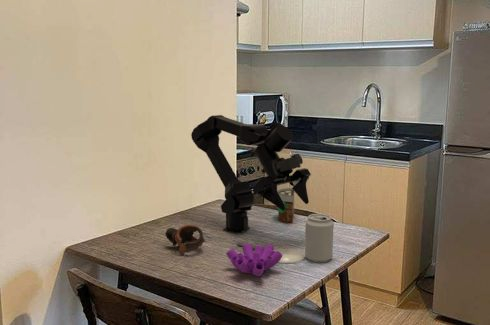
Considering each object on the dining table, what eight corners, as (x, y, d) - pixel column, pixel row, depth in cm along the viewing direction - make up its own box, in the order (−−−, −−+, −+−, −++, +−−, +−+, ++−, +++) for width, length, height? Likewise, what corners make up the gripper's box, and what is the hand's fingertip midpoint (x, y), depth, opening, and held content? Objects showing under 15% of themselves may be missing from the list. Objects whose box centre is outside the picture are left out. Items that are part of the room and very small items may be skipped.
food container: (276, 214, 178) (277, 187, 176) (293, 214, 177) (294, 187, 175) (273, 224, 166) (274, 195, 164) (292, 225, 165) (292, 196, 163)
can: (331, 264, 131) (333, 221, 129) (303, 262, 132) (304, 219, 130) (332, 254, 138) (334, 213, 136) (305, 252, 140) (306, 211, 138)
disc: (260, 258, 135) (260, 257, 135) (279, 248, 143) (279, 246, 143) (293, 266, 130) (293, 264, 130) (310, 255, 138) (310, 253, 138)
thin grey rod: (236, 245, 145) (236, 242, 145) (238, 244, 146) (238, 241, 146) (269, 253, 139) (269, 250, 139) (271, 252, 140) (271, 249, 139)
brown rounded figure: (207, 245, 147) (210, 226, 142) (196, 269, 140) (198, 250, 134) (170, 233, 148) (171, 214, 143) (156, 256, 141) (157, 237, 136)
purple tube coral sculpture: (230, 291, 122) (213, 256, 125) (268, 273, 134) (251, 241, 136) (259, 275, 115) (240, 238, 118) (296, 257, 127) (278, 224, 129)
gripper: (259, 149, 133) (287, 198, 127) (307, 141, 145) (334, 185, 139) (241, 171, 141) (266, 218, 135) (287, 162, 152) (312, 205, 147)
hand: (296, 206), depth 139 cm, fingers open, 9 cm apart
